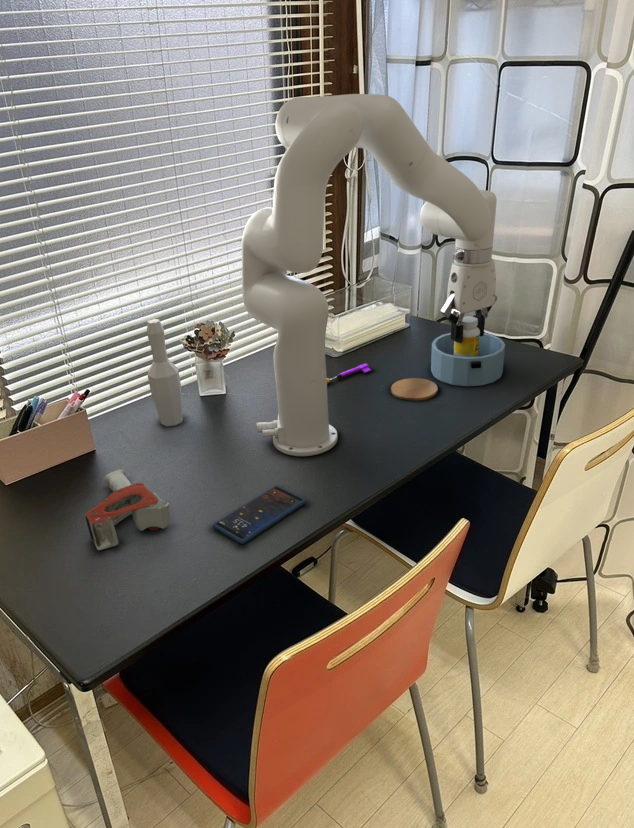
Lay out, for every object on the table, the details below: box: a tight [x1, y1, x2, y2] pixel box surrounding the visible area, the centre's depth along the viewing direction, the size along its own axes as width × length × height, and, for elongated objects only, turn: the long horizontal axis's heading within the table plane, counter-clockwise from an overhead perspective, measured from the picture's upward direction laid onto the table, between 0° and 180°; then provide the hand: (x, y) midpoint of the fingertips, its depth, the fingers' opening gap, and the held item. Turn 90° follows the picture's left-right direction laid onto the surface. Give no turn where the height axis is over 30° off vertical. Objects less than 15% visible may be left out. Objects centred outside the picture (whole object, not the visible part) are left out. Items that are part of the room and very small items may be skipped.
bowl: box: [430, 332, 506, 387], centre depth 158 cm, size 16×18×6 cm
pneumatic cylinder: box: [327, 363, 372, 385], centre depth 160 cm, size 3×1×16 cm
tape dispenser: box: [85, 469, 172, 551], centre depth 119 cm, size 18×5×20 cm
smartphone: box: [212, 485, 307, 545], centre depth 117 cm, size 8×1×15 cm
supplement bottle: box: [454, 315, 480, 357], centre depth 156 cm, size 5×5×10 cm
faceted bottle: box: [146, 318, 184, 427], centre depth 143 cm, size 6×6×22 cm
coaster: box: [390, 377, 439, 402], centre depth 153 cm, size 10×10×1 cm
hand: (467, 337), depth 155 cm, fingers closed on supplement bottle, 5 cm apart
